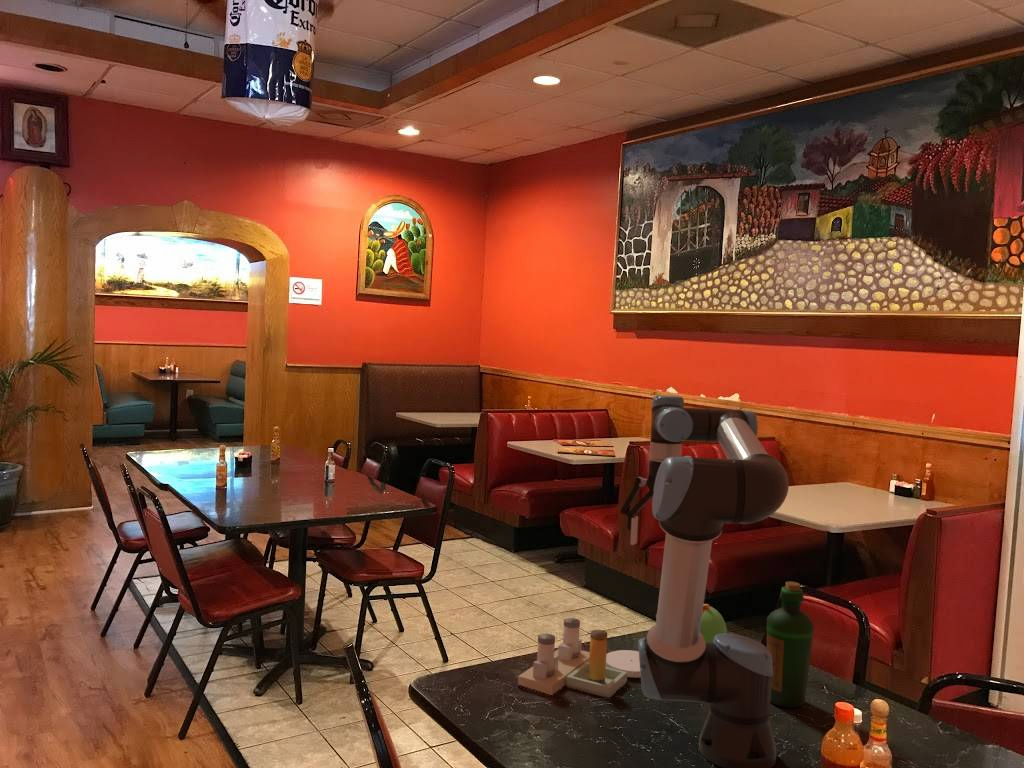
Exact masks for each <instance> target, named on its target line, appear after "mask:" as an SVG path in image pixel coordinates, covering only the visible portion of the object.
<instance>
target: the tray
mask: <svg viewBox="0 0 1024 768" xmlns="http://www.w3.org/2000/svg"><path fill="white" fill-rule="evenodd" d="M588 677H589V663H588V662H585V663H584V664H582V665H581V666H580V667H578V668H577V669H576V670H575V671H573V672H572V673H571V674H569V675H568V676H567V678H566V685H565V687H566V686H567V687H566V688H569V687H570V688H569V689H572V688H573V690H576V689H577V690H576V691H580V692H584V693H588V694H591V695H594V696H595V695H596V696H599V697H602V698H606V699H610V698H611V697H612V696H613V695H614V694H616V691H617V690H618V689H619V690H620V689H621V688H623V686H624V685H626V684H627V683H626V682H628V677H627V672H624V671H620V670H616V669H612V668H608V667H606V673H605V684H601V683H597V682H593V681H589V680H588ZM620 687H621V688H620ZM619 690H618V691H619ZM618 691H617V692H618Z"/></svg>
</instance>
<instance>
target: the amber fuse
mask: <svg viewBox="0 0 1024 768" xmlns="http://www.w3.org/2000/svg"><path fill="white" fill-rule="evenodd" d="M589 639H590V641H589V652H590V657H589V677H588V680H589V681H593V682H597V683H601V684H605V673H606V654H607V652H608V650H607V648H608V631H605V630H603V629H594V630H591V631H590V638H589Z"/></svg>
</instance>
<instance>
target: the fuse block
mask: <svg viewBox="0 0 1024 768" xmlns="http://www.w3.org/2000/svg"><path fill="white" fill-rule="evenodd" d="M580 626H581V620H580V619H578V618H575V617H566V618H564V619H563V634H562V636H563V638H562V643H560V644H559V645H558V646H557V648H558V649H556V650H555V648H556V647H555V646H556V645H555V644H556V643H555V642H556V636H555V635H553V634H552V633H540V634H538V635H537V652H536V654H537V658H536V660H534V661H533V663H532V664H533V665H532V666H531V667H530V668H528V669H527V670H525V671H523V672H522V673H521V674H519V675H518V678H517V685H518V684H519V685H522V686H525V687H528V688H531V689H535V690H538V691H541V692H544V693H547V694H550V695H552V696H553V694H554V693H555V692H556V691H558V690H559V689H560V690H561V689H563V688H564V687H566V678H567V676H568V675H569V674H571V673H572V672H573V671H575V670H576V669H577V668H578V667H580V666H581V665H582V664H584V663H585V662H588V663H589V657H590V651H585V650H582V644H583V639H581V638H580ZM563 686H564V687H563ZM562 687H563V688H562ZM560 690H559V691H560ZM559 691H558V692H559ZM556 693H557V692H556ZM556 693H555V694H556ZM547 694H546V695H547ZM555 694H554V695H555ZM550 695H549V696H550Z"/></svg>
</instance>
